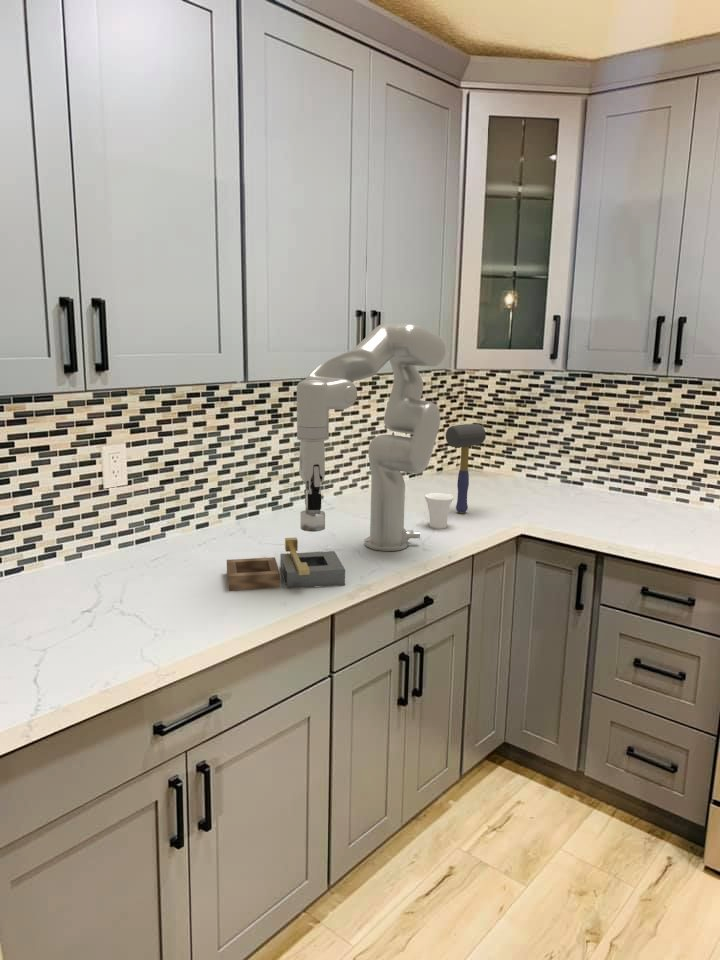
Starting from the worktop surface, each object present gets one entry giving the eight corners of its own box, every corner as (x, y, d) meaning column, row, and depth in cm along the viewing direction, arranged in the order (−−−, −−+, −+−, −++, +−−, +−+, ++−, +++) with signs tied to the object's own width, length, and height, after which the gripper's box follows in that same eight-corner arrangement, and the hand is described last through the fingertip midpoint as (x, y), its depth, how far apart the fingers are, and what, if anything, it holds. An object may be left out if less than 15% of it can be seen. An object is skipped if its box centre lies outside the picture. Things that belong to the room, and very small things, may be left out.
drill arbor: (322, 523, 178) (323, 487, 176) (326, 531, 173) (327, 493, 171) (298, 524, 177) (298, 487, 175) (302, 532, 171) (302, 493, 169)
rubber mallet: (454, 517, 233) (459, 426, 227) (440, 512, 239) (444, 423, 233) (482, 512, 240) (488, 424, 233) (468, 507, 246) (472, 421, 240)
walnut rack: (274, 570, 181) (274, 557, 180) (280, 587, 170) (280, 573, 169) (226, 573, 179) (226, 559, 178) (229, 590, 167) (228, 576, 166)
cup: (457, 529, 220) (459, 497, 218) (429, 530, 218) (430, 499, 216) (447, 521, 229) (448, 491, 227) (419, 522, 227) (420, 492, 224)
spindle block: (334, 565, 186) (334, 551, 185) (345, 585, 172) (345, 569, 171) (280, 568, 182) (280, 553, 182) (287, 588, 169) (287, 572, 168)
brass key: (298, 548, 185) (298, 537, 184) (309, 574, 166) (309, 562, 166) (284, 549, 184) (284, 538, 184) (295, 575, 166) (295, 563, 165)
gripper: (292, 427, 177) (293, 499, 181) (302, 439, 161) (302, 517, 165) (322, 427, 178) (322, 498, 182) (334, 438, 162) (334, 516, 167)
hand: (313, 506), depth 174 cm, fingers closed on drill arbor, 3 cm apart
